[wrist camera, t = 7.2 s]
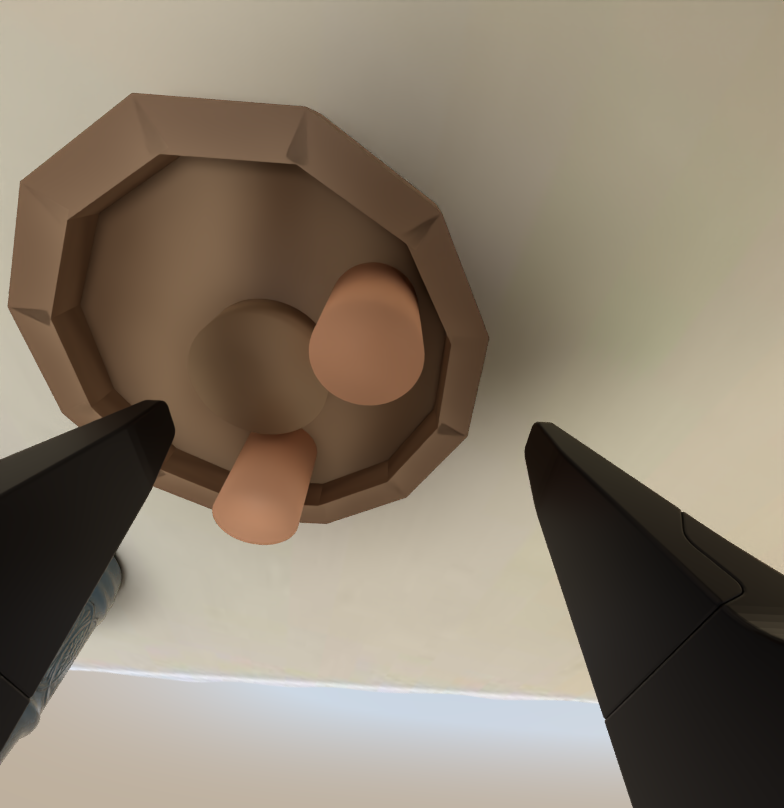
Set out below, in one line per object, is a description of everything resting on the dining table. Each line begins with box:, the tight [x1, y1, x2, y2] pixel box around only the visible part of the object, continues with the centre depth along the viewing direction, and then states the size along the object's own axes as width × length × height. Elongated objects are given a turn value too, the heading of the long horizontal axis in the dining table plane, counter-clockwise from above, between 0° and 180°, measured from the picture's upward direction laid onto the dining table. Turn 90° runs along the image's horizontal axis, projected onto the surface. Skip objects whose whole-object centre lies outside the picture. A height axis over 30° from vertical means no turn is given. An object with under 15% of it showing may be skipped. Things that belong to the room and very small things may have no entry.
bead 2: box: [309, 262, 425, 405], centre depth 14 cm, size 4×4×4 cm
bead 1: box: [212, 428, 317, 545], centre depth 18 cm, size 4×4×4 cm
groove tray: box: [8, 93, 489, 524], centre depth 17 cm, size 18×18×3 cm
